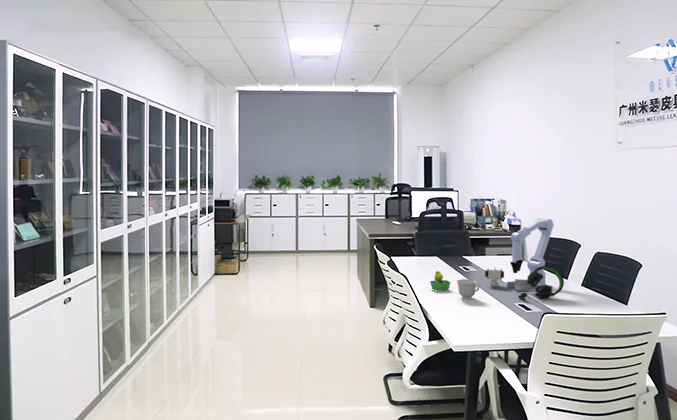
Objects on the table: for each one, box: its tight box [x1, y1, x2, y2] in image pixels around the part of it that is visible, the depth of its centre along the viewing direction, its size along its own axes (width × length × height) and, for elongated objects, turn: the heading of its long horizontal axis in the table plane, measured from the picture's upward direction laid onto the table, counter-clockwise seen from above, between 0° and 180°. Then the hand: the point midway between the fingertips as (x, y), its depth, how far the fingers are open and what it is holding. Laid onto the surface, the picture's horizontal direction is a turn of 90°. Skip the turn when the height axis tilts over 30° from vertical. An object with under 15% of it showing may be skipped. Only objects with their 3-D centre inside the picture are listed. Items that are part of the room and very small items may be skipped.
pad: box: [510, 287, 536, 293], centre depth 307 cm, size 11×12×1 cm
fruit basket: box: [429, 270, 451, 291], centre depth 308 cm, size 11×9×11 cm
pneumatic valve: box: [484, 267, 505, 287], centre depth 318 cm, size 6×12×12 cm, turn 72°
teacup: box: [456, 278, 480, 300], centre depth 285 cm, size 12×15×10 cm
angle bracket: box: [514, 278, 534, 292], centre depth 305 cm, size 10×6×6 cm, turn 76°
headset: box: [517, 265, 565, 301], centre depth 285 cm, size 18×14×29 cm
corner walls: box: [506, 280, 542, 290], centre depth 309 cm, size 14×15×4 cm
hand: (516, 272), depth 313 cm, fingers open, 7 cm apart
